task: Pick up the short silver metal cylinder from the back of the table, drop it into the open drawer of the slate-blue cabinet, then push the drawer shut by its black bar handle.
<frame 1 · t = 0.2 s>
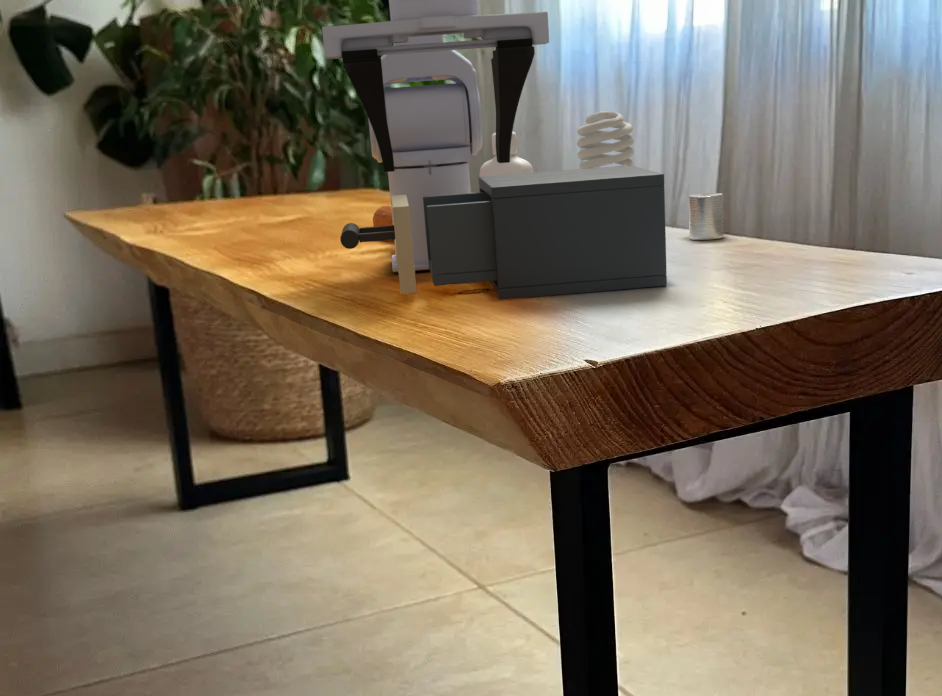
hand: (446, 166, 82), 10 cm above the table, tool pointing down, fingers open, 7 cm apart
kendama: (410, 245, 129), on the table
cabinet: (571, 280, 97), on the table
drawer: (443, 238, 95), point 4 cm above the table, slide at 6.0 cm
eye dropper bottle: (510, 245, 123), on the table
cylinder: (706, 237, 117), on the table
light bulb: (609, 237, 124), on the table
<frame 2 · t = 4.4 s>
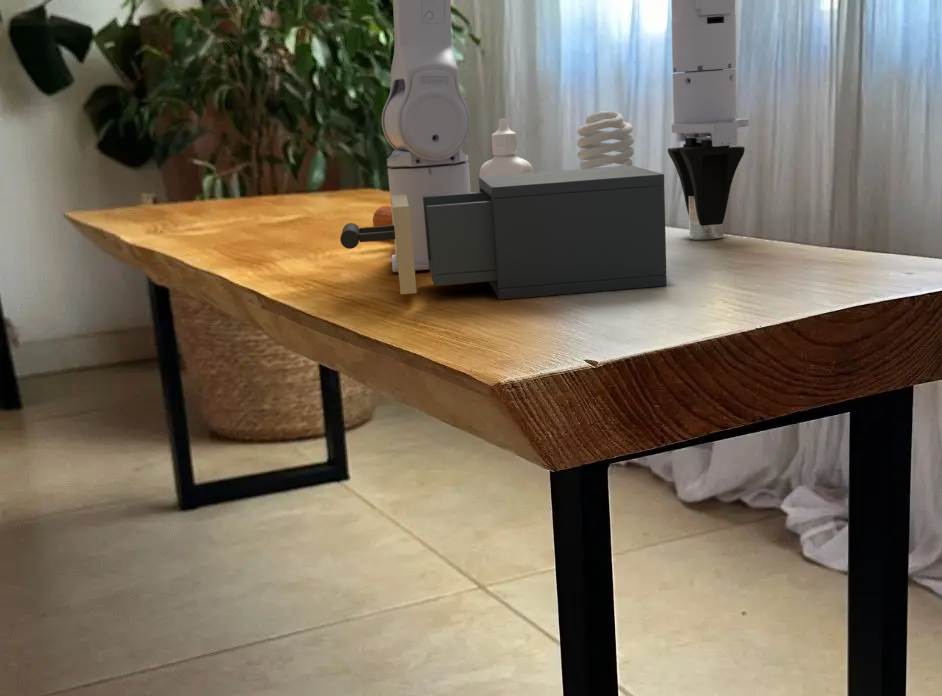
hand: (706, 222, 117), 1 cm above the table, tool pointing down, fingers closed on cylinder, 3 cm apart
cylinder: (706, 237, 117), on the table, touching gripper
everything else where it was.
when the fingers open (6 cm above the table, at t = 11.7 s): cylinder stays where it is, resting on drawer.
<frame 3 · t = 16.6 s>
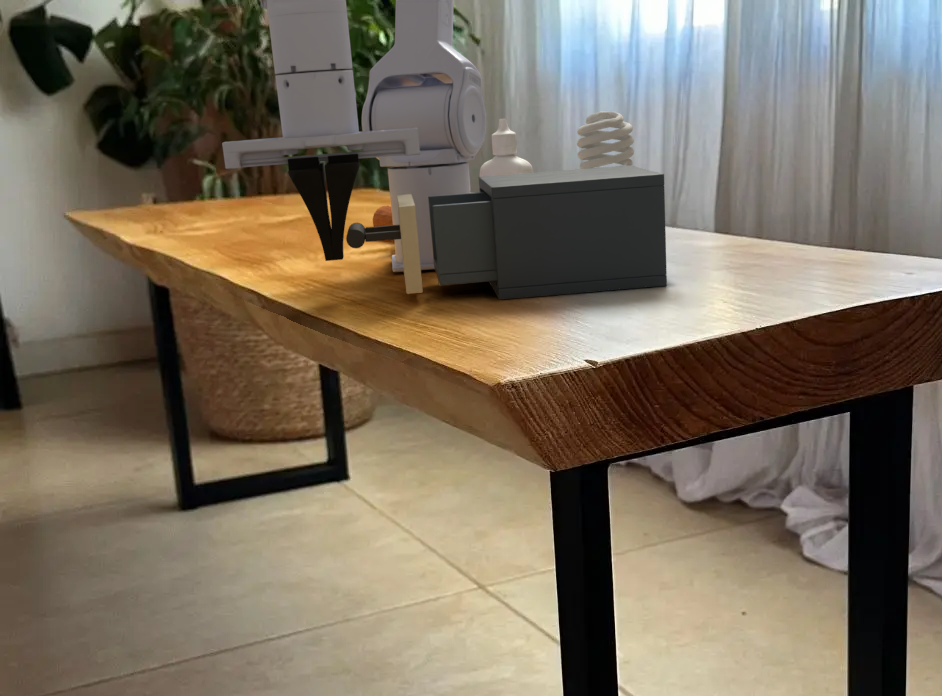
hand: (334, 258, 95), 3 cm above the table, tool pointing down, fingers closed
drawer: (449, 238, 95), point 4 cm above the table, slide at 5.6 cm, touching cylinder, gripper
cylinder: (458, 264, 96), point 2 cm above the table, touching drawer
everything else where it was.
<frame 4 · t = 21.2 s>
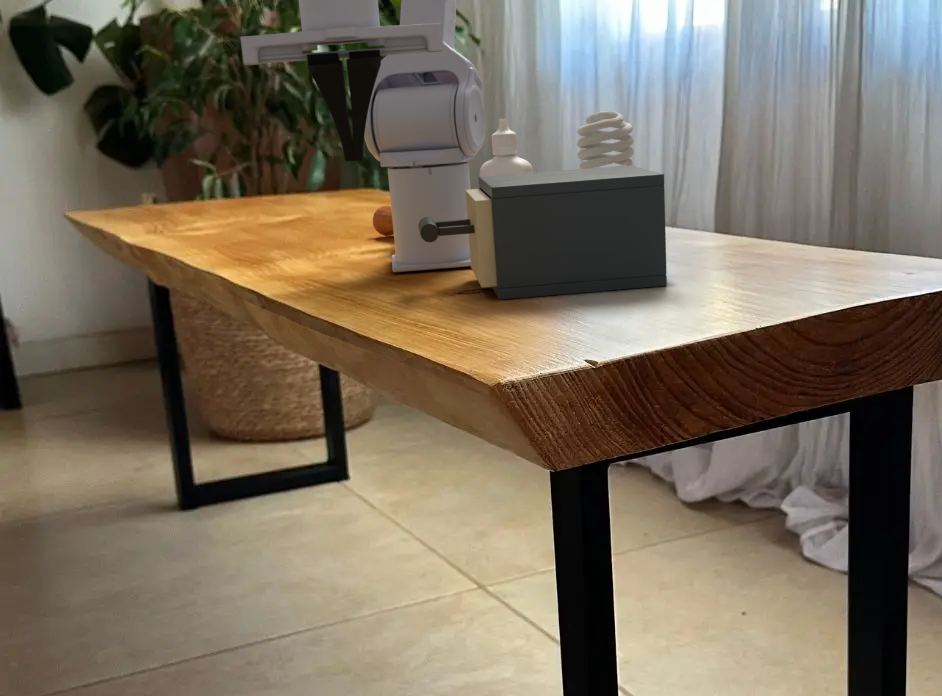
hand: (354, 160, 93), 10 cm above the table, tool pointing down, fingers closed
drawer: (520, 232, 96), point 4 cm above the table, slide at 0.0 cm, touching cabinet, cylinder
cylinder: (528, 258, 96), point 2 cm above the table, touching drawer
everything else where it was.
at the end: cylinder inside the target area in the cabinet (3.2 cm from its centre), point 2.0 cm above the cabinet's base; drawer slide at 0.0 cm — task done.
